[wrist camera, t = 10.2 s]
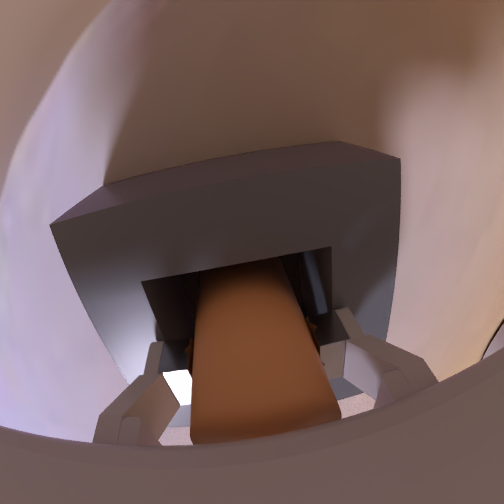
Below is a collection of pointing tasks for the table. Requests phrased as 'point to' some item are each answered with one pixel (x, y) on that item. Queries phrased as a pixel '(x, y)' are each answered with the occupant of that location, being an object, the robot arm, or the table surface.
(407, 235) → the table surface
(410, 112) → the table surface
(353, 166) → the socket holder
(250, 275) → the peg
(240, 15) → the table surface
